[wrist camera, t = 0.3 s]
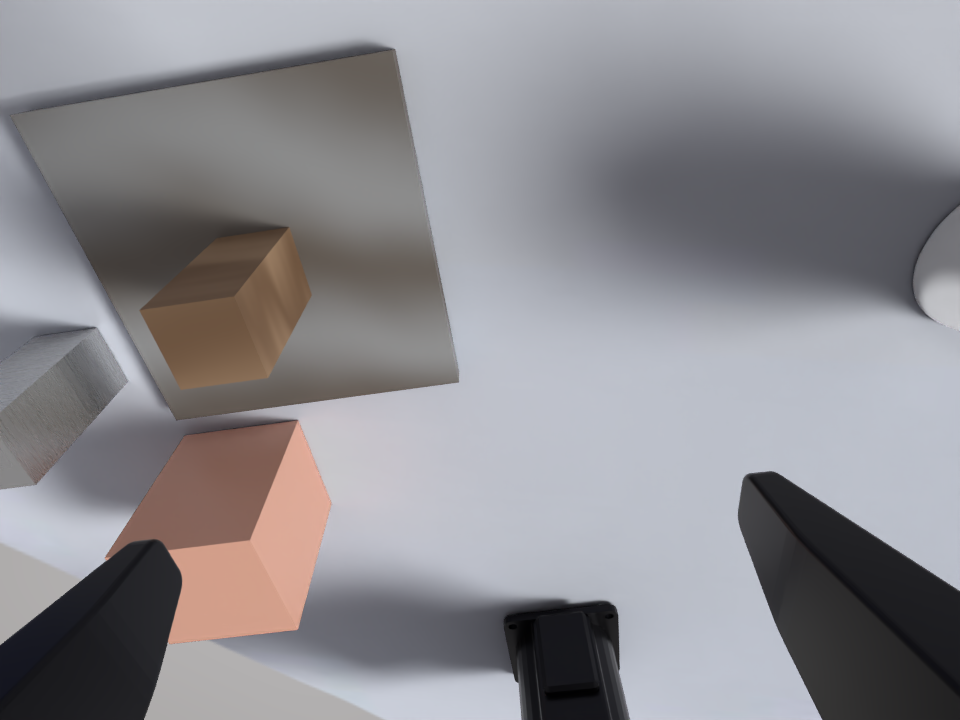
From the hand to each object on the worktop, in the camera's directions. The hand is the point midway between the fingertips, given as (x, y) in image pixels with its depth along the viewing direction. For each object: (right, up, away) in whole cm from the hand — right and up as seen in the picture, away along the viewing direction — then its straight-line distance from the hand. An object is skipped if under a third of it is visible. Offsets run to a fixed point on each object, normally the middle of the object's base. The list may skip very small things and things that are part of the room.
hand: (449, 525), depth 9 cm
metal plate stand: (-7, +6, +12) cm, 15 cm away
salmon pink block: (-10, -3, +18) cm, 20 cm away
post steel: (-16, +3, +14) cm, 21 cm away
